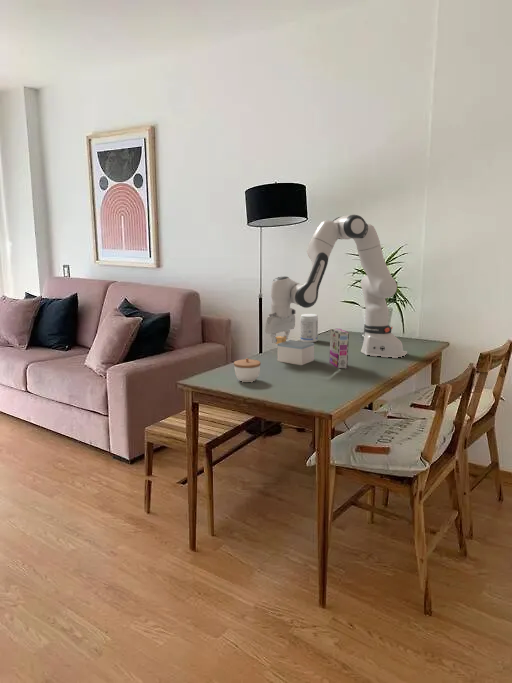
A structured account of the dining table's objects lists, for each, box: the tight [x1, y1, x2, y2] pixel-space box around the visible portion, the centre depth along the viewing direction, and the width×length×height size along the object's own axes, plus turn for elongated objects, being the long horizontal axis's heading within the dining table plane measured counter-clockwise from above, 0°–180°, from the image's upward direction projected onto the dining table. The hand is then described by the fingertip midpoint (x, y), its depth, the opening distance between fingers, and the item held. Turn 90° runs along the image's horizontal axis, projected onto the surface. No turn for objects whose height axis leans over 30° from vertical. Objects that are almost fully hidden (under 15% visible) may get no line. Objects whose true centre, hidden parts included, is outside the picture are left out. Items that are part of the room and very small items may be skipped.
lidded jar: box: [233, 357, 261, 383], centre depth 215 cm, size 11×11×9 cm
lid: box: [274, 335, 315, 349], centre depth 246 cm, size 17×11×4 cm, turn 54°
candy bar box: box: [329, 328, 350, 370], centre depth 237 cm, size 11×5×16 cm, turn 12°
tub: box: [276, 344, 315, 366], centre depth 246 cm, size 13×11×8 cm
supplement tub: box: [300, 313, 319, 343], centre depth 294 cm, size 10×10×15 cm
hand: (280, 341), depth 249 cm, fingers open, 8 cm apart
